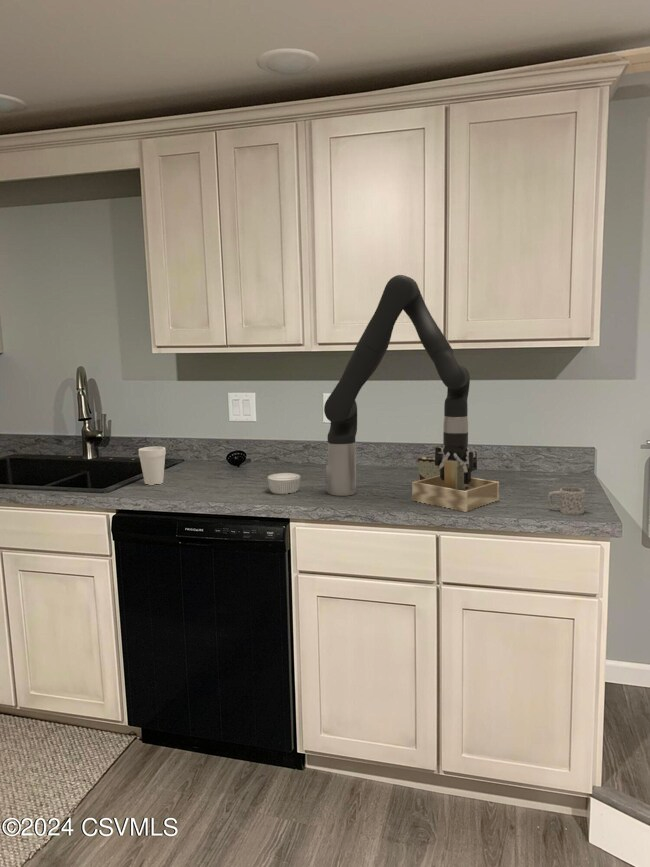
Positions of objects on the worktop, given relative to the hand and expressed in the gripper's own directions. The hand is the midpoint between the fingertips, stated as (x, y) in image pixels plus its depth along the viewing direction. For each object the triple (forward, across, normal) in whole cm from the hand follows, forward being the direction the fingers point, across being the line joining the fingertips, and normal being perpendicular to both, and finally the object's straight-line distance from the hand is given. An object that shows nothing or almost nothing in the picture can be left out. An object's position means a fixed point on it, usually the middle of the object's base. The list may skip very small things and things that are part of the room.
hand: (455, 481), depth 210 cm
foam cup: (+6, -96, -51) cm, 109 cm away
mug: (+6, +31, +11) cm, 34 cm away
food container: (+6, -18, +14) cm, 24 cm away
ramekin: (+6, -51, -27) cm, 58 cm away
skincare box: (+5, 0, 0) cm, 5 cm away
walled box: (+6, 0, 0) cm, 6 cm away
